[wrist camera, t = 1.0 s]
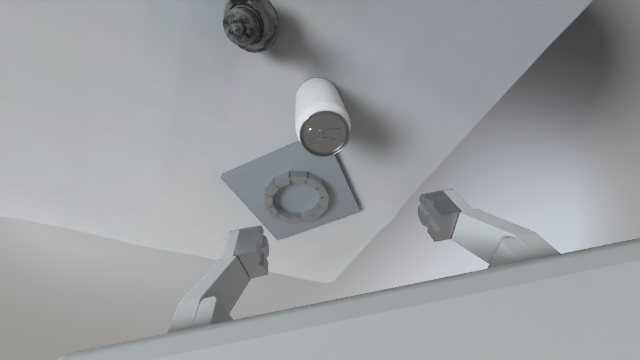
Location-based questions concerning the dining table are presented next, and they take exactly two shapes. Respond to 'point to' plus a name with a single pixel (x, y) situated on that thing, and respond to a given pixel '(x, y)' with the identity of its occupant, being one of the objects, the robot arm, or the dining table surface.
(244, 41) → the salt shaker
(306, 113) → the can
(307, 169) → the board
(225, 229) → the dining table surface
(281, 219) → the collar
